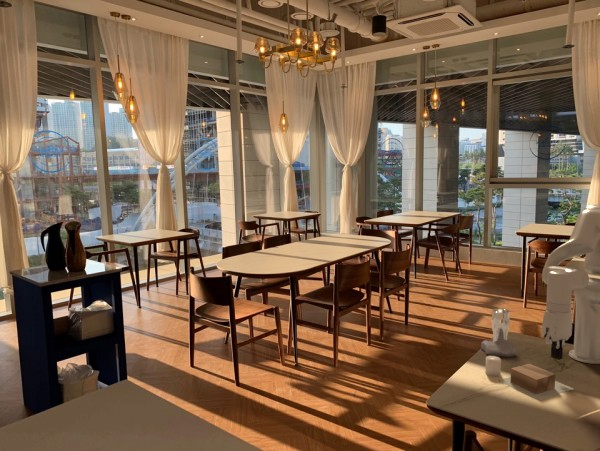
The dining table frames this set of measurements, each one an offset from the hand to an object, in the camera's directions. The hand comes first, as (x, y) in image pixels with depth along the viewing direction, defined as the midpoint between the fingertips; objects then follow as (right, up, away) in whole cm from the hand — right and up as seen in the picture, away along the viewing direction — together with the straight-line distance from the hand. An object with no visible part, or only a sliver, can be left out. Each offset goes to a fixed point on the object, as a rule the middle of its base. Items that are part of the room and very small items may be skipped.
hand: (556, 357), depth 164 cm
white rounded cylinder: (-20, -8, +6) cm, 22 cm away
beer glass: (-5, -4, +34) cm, 34 cm away
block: (-7, -5, -3) cm, 9 cm away
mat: (-9, -8, -4) cm, 13 cm away
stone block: (-9, -6, +26) cm, 28 cm away
